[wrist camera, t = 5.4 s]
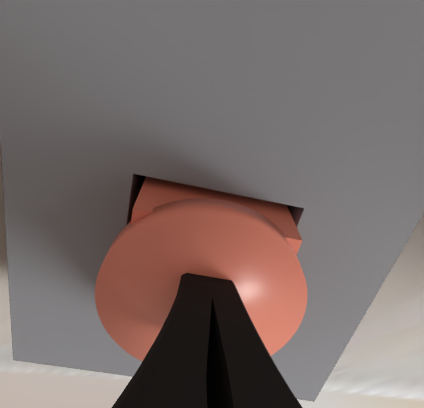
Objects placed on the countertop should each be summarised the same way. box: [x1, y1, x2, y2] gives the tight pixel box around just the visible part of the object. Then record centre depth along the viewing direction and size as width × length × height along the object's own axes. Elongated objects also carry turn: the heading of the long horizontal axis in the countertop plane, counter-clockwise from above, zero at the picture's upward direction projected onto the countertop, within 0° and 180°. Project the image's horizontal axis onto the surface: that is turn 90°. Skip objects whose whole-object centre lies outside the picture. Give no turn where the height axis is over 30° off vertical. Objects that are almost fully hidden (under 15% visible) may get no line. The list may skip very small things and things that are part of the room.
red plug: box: [95, 176, 307, 361], centre depth 11 cm, size 6×6×5 cm
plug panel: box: [0, 0, 424, 401], centre depth 10 cm, size 12×24×4 cm, turn 167°
